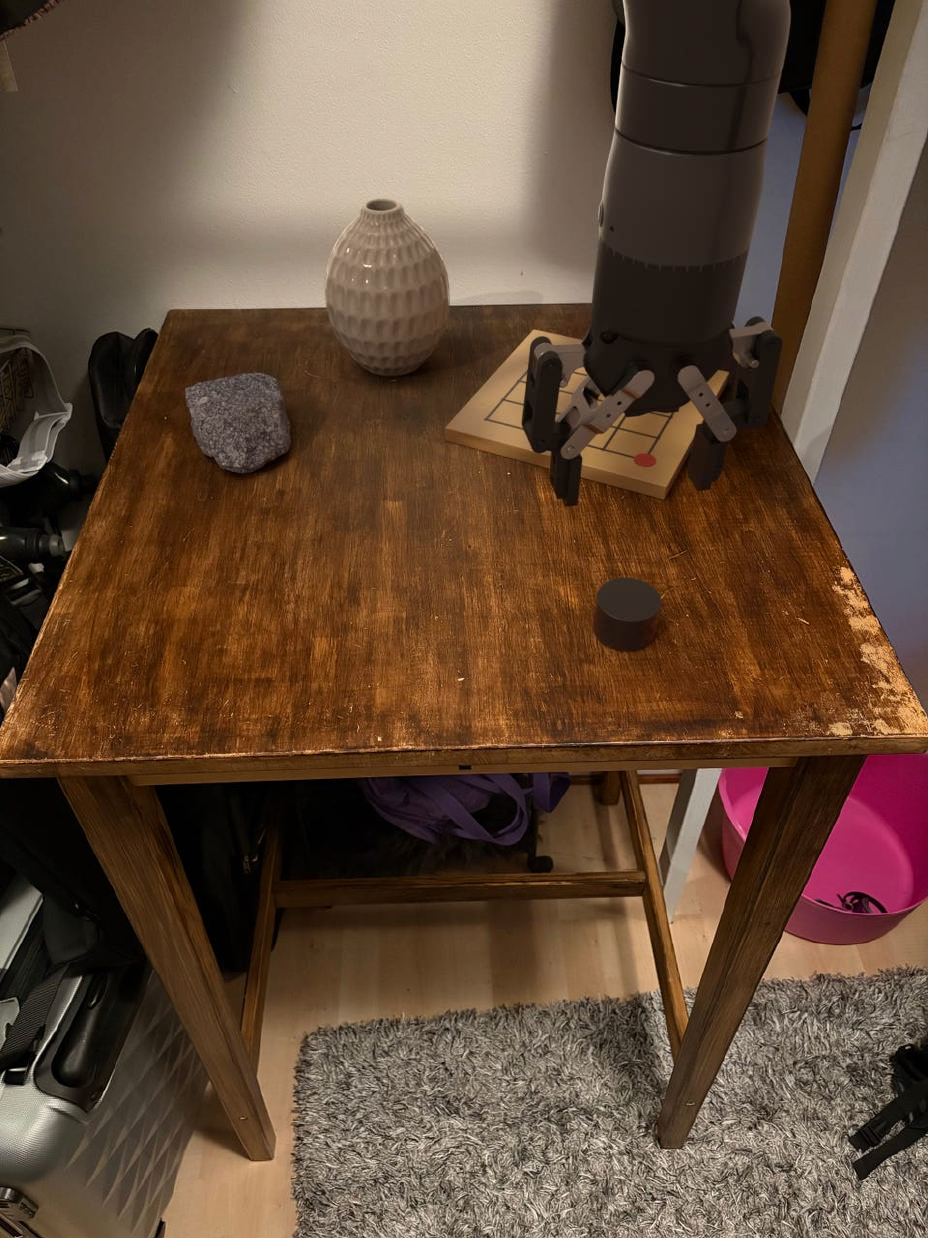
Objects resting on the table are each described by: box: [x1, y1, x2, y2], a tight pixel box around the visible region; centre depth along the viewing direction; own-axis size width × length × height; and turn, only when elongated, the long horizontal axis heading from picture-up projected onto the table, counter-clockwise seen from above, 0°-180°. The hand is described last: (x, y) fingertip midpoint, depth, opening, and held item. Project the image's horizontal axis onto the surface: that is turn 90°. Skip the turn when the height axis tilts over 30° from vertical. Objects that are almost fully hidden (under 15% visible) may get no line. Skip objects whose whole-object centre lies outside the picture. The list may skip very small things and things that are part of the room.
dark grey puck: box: [592, 576, 662, 652], centre depth 68 cm, size 5×5×3 cm
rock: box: [184, 372, 292, 474], centre depth 87 cm, size 12×5×10 cm
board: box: [444, 329, 730, 501], centre depth 91 cm, size 22×22×2 cm
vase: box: [324, 197, 451, 378], centre depth 93 cm, size 13×13×17 cm
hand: (633, 490), depth 57 cm, fingers open, 8 cm apart
